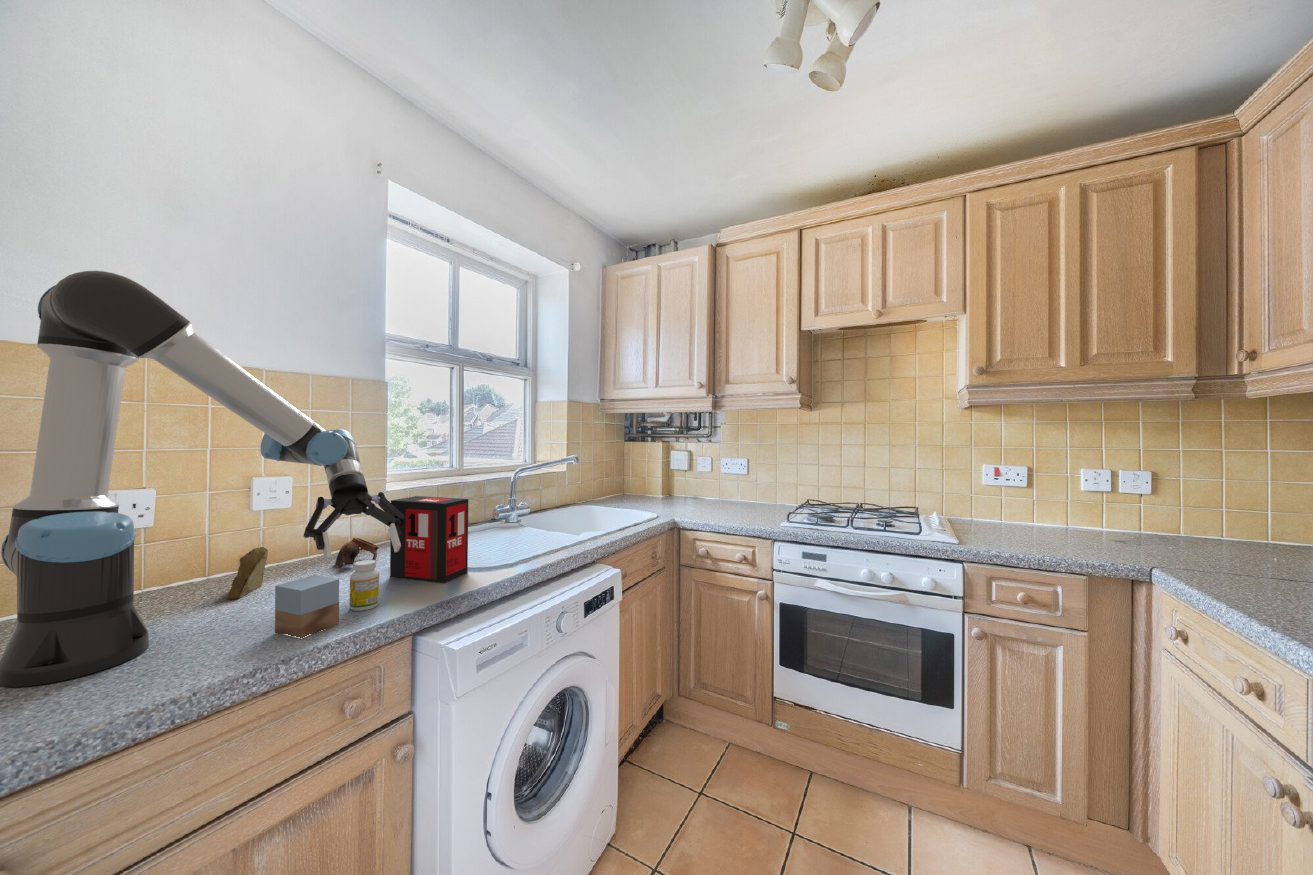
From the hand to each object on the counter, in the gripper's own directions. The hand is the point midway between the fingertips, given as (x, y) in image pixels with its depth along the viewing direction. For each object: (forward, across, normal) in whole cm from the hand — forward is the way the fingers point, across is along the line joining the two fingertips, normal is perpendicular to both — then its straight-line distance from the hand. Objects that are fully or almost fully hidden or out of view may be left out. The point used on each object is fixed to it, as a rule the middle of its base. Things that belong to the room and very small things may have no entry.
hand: (365, 554), depth 103 cm
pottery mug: (-15, -6, -30) cm, 34 cm away
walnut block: (+14, +12, +1) cm, 19 cm away
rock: (-10, +18, -24) cm, 32 cm away
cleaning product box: (+2, -17, -12) cm, 21 cm away
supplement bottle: (+11, +2, -3) cm, 12 cm away
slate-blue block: (+11, +12, +4) cm, 17 cm away
